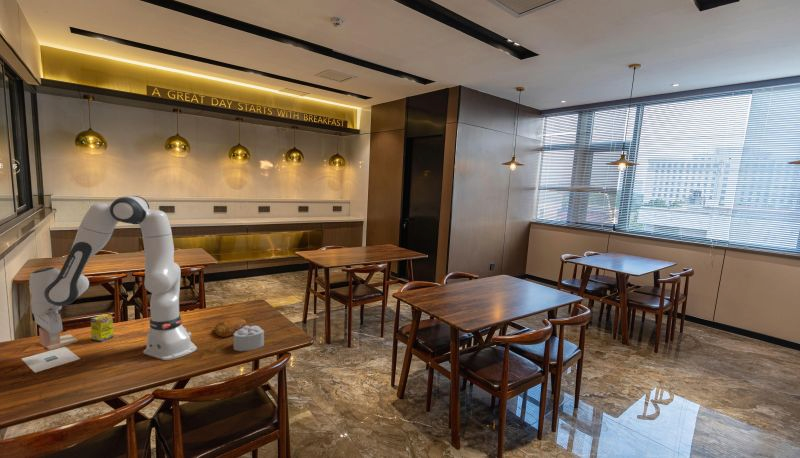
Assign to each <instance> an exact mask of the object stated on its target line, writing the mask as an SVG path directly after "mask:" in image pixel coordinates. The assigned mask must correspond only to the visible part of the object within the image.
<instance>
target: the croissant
mask: <svg viewBox="0 0 800 458" xmlns="http://www.w3.org/2000/svg"><path fill="white" fill-rule="evenodd" d="M246 321H247V320H244V319H242V318H240V317H235V316H234V317H227V318H224V319H221V320H220V321H219V322H217V324H216V325H215V326H214V333H215V334H216V335H218V336H219V337H220V338H227V337H230V336H234V333H235V332H236V331H238V330H239V329H242V328H243V327H244V326H248V324H247V322H246Z"/></svg>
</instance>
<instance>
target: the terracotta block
mask: <svg viewBox="0 0 800 458" xmlns="http://www.w3.org/2000/svg"><path fill="white" fill-rule="evenodd" d="M38 332H39V342H40V345H41V346H42V347H43V348H46V347H48V346H51V345H55V344H59V343H60V336H61V334H60V333H61V332H60V333H57V334H56V340H54V341H50V340H49V332H48V331H46V330H45V329H44V328H42V327H41V326H40V327H39V328H38Z"/></svg>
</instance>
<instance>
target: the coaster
mask: <svg viewBox="0 0 800 458" xmlns="http://www.w3.org/2000/svg"><path fill="white" fill-rule="evenodd" d="M77 342H78V339H77V338H76V337H74V336H73V334H70V333H68V334H64V335H60V343H59V344H55V345H51V346H48V347H45V348H46V349H47V350H51V349H52V350H53V349H57V348H58V347H59V348H60V347H64V346H67V345H69V344H73V343H77Z"/></svg>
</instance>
